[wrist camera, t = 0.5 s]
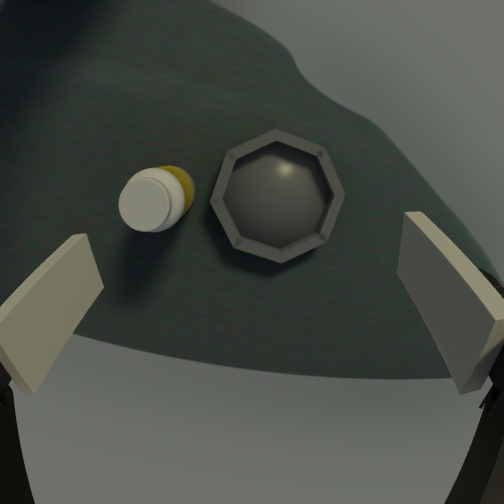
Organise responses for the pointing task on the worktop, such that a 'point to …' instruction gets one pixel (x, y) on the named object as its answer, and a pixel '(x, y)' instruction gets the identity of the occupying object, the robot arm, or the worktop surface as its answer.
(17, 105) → the worktop surface
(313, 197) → the octagonal tray
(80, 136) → the worktop surface
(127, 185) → the pill bottle
